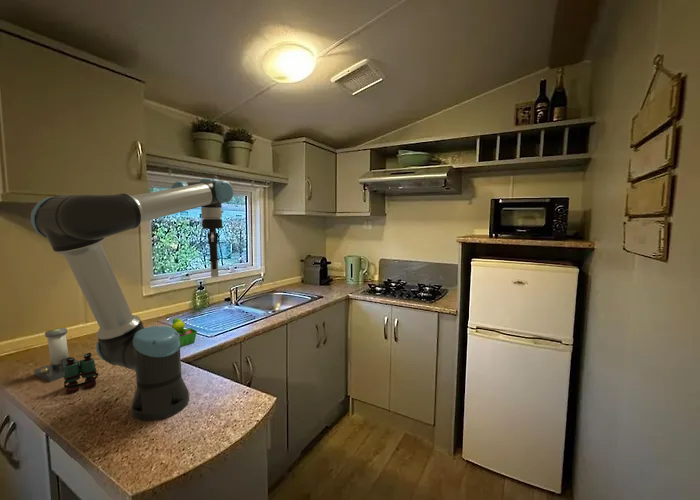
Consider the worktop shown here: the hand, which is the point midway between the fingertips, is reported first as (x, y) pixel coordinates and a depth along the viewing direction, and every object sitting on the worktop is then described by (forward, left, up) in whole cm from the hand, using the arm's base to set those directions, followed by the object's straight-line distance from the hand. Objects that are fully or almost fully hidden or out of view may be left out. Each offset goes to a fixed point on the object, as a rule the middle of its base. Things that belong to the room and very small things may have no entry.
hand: (214, 276), depth 134 cm
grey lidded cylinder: (+2, +54, -29) cm, 61 cm away
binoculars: (-14, +42, -33) cm, 55 cm away
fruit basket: (+16, +16, -33) cm, 40 cm away
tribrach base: (+2, +54, -32) cm, 63 cm away
